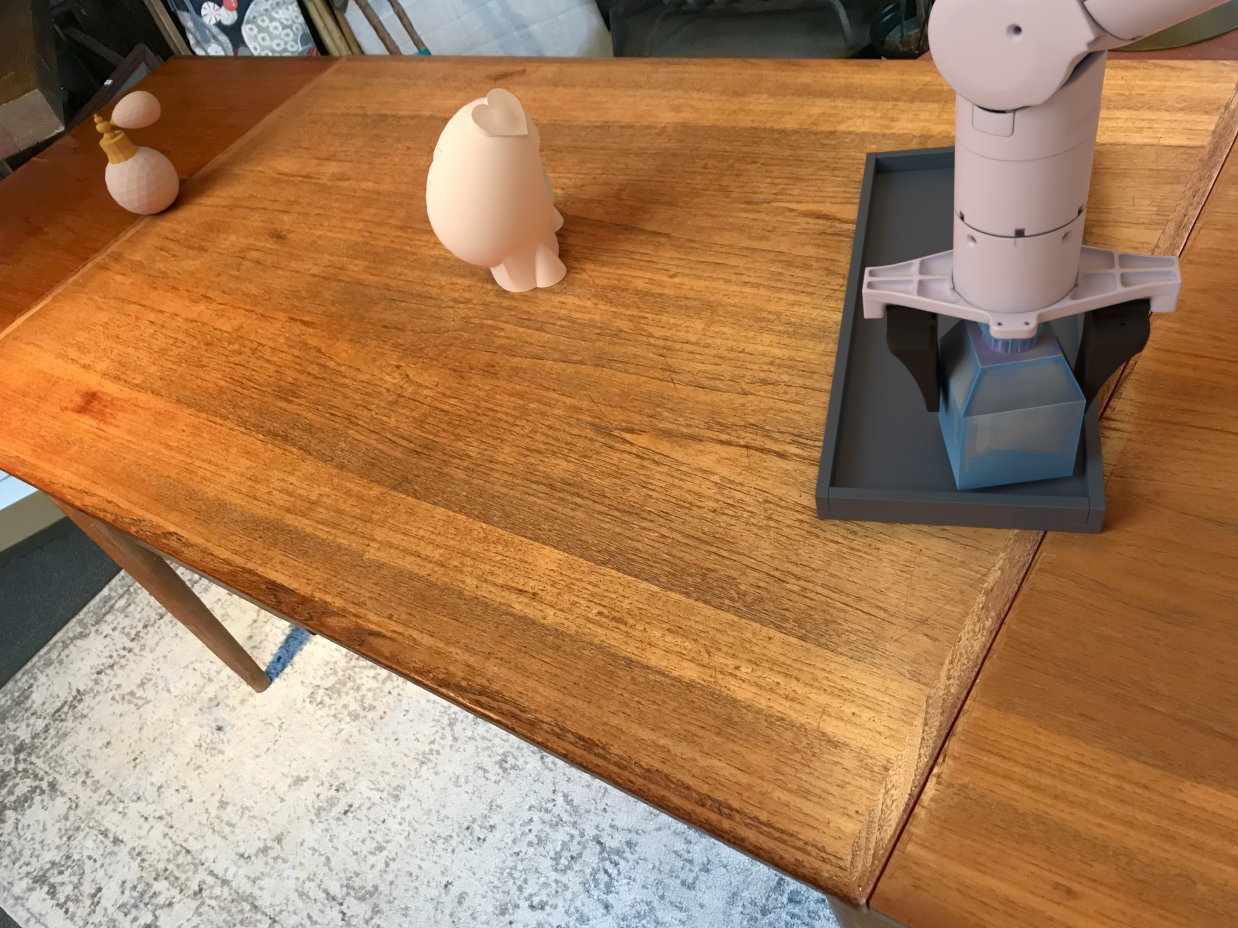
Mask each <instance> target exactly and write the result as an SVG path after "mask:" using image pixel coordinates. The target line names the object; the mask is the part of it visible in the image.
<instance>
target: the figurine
mask: <svg viewBox="0 0 1238 928" xmlns="http://www.w3.org/2000/svg"><path fill="white" fill-rule="evenodd" d="M539 132H540V130H539V128H538V127H537V125H536V124H535V123H534V121H533V120H532V118H531V117H530V115H528V113H526V111H525V110H524V108H523V106H522V103H521V101H520V100H519V99H518V98H517V97H516V96H515V95H514V94H513V93H511V92H510V91H508V90H507V89H504V88H501V87H496V88H492V89H491V90H489V91H488V93H487V94H486V96H483V97H480V98H477V99H475V100H473V101H471V102H469V103H467V104H465V105H464V106H462V107H461V108H460V109H459V110H458V111H457V112H456V113H455V114H454V115H453V116H452V117H451V118H450V119H449V121H448V122H447V124H446V125H445V127H444V129H443V130H442V132H441V133H440V136H439V138H438V140H437V143H436V146H435V148H434V151H433V156H432V159H433V160H432V162H431V165H430V167H429V170H428V175H427V179H426V189H425V190H426V192H425V201H426V212H427V217H428V219H429V223H430V225H431V228H432V230H433V232H434V233H435V235H436V237H437V238H438V240H439V242H441V244H442V246H444V247H445V248H446V249H447V250H448V251H449V252H450V253H452V254H453V255H454V256H455V257H456V258H458V259H459V260H462V261H464V262H466V263H468V264H471V265H473V266H479V267H481V268H482V267H484V268H489V269H490V272H491V275H492V276H493V278H494V280H495V281H496V283H497V285H498V286H500V287H501V288H502V289H504V290H505V291H508V292H512V293H524V292H525V293H527V292H529V291H531V290H533V289H535V288H539V289H540V288H541V289H542V288H549V287H551V286H552V287H553V286H555V285H556V284H558V283H560V282H561V281H562V280H563V279H564V278H565V277H566V274H567V267H566V265H565V264H564V263H563V261H562V260H561V259H560V258H559V251H560V246H559V242H558V237H557V235H556V232H558V231H559V230H560V229H561V228H562V227H563V226H564V223H565V222H564V221H565V220H564V217H563V216H562V214H560V212H559V210H558V209H557V208H556V207H555V206H554V200H555V199H554V198H555V197H554V196H555V192H554V187H553V186H554V185H553V181H552V180H551V177H550V176H549V174H547V171H546V168H545V165H544V163H543V161H542V158H541V156H540V144H541V143H542V141H541V136H540V133H539Z"/></svg>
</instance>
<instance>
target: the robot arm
mask: <svg viewBox="0 0 1238 928" xmlns="http://www.w3.org/2000/svg"><path fill="white" fill-rule="evenodd" d="M1231 1H1232V0H934V3H933V5H932V7H931V10H930V14H929V18H928V24H927V39H928V46H929V51H930V56H931V58H932V60H933V63H934V65H935V67H936V69H937V71H938V72H939V73H938V74H940V76H941V77H942V79H943V80H944V82H945V83H946V84H947V85H948V87H950V88H951V89H952V90H953V92H955V113H954V115H955V119H954V146H955V181H954V239H953V250H949V251H945V252H941V253H937V254H933V255H930V256H926V257H922V258H918V259H914V260H910V261H907V262H903V263H898V264H893V265H887V266H879V267H867V268H866V269H865V276H864V283H863V290H862V294H863V307H864V318H866V319H868V318H883V317H885V315H886V310H887V331H886V342H887V345H888V348H889V350H890V352H891V354H893V355H894V356H895V357H897V358H898V359H899V360H900V361H901V362H902V363H903V364H904V366H905V367H906V368H907V369H908V370H909V372H910V373H911V375H912V376H913V378H914V379H915V381H916V383H917V385H918V387H919V389H920V391H921V393H922V396H923V398H924V401H925V405H926V409H927V411H928V412H939V409H940V392H941V366H940V356H939V347H938V313H939V314H944V315H948V316H953V317H958V318H962V319H967V320H972V321H976V322H981V323H985V324H988V325H989V326H990V334H991V336H993V337H995V338H999V339H1026V338H1031V337H1033V336H1034V335H1036V332H1037V326H1038V323H1041V322H1045V321H1049V320H1053V319H1057V318H1061V317H1065V316H1069V315H1074V314H1078V313H1082V312H1085V313H1084V322H1083V331H1082V338H1081V343H1080V347H1079V351H1078V355H1077V359H1076V363H1075V367H1074V371H1073V372H1074V374H1075V376H1076V379H1077V381H1078V383H1079V386H1080V388H1081V390H1082V393H1083V395H1084V397H1085V400H1086V403H1085V408H1084V413H1083V414H1086V413H1087V412H1088V409H1089V407H1090V405H1091V403H1092V402H1093V400H1094V398H1095V397H1096V395H1097V396H1098V393H1099V392H1100V390H1101V389H1102V388H1103V386H1104V385H1105V384H1106V383H1107V381H1108V380H1109V379H1110V378H1111V377H1112V375H1114V373H1116V371H1118V370H1119V369H1120V368H1121V367H1122V366H1123V365H1124V364H1126V363H1127V362H1128V361H1129V360H1130V359H1132V358H1133V357H1135V356H1137V355H1138V354H1140V353H1142V352H1143V351H1144V349H1145V347H1147V346H1146V345H1147V343H1148V341H1149V338H1150V335H1151V321H1150V312H1152V313H1154V314H1161V313H1163V314H1164V313H1175V312H1176V308H1177V306H1178V301H1179V298H1180V294H1181V289H1182V286H1183V275H1182V269H1181V263H1180V257H1179V255H1175V254H1173V255H1159V254H1158V255H1157V254H1143V253H1136V252H1135V253H1134V252H1128V251H1122V250H1116V249H1109V248H1103V247H1099V246H1098V247H1097V246H1091V245H1086V244H1085V245H1081V244H1082V237H1083V230H1084V231H1085V222H1086V214H1087V208H1088V200H1089V192H1090V186H1091V178H1092V172H1093V163H1094V157H1095V150H1096V143H1097V136H1098V130H1099V129H1098V128H1099V123H1100V122H1099V121H1100V114H1101V108H1102V95H1103V88H1104V82H1105V81H1104V80H1105V73H1106V66H1107V60H1108V53H1109V50H1112V49H1117V48H1120V47H1121V48H1122V47H1124V46H1128V45H1131V44H1133V43H1136V42H1138V41H1140V40H1142V39H1144V38H1146V37H1149V36H1152V35H1154V34H1156V33H1159V32H1161V31H1163V30H1167V29H1168V28H1170V27H1172V26H1173V27H1174V26H1175V25H1177V24H1180V23H1182V22H1185V21H1187V20H1189V19H1192V18H1194V17H1196V16H1198V15H1201V14H1203V13H1206V12H1208V11H1210V10H1212V9H1214V8H1217V7H1219V6H1222V5H1224V4H1226V3H1229V2H1231Z"/></svg>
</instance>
